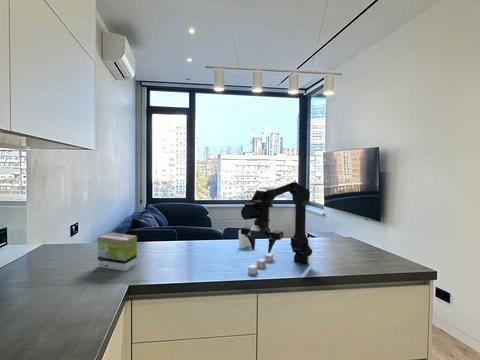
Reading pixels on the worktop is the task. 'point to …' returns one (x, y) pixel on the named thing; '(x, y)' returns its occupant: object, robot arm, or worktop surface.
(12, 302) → the worktop surface
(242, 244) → the white cup
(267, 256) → the block
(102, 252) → the tea box
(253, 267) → the near slider
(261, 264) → the middle slider
